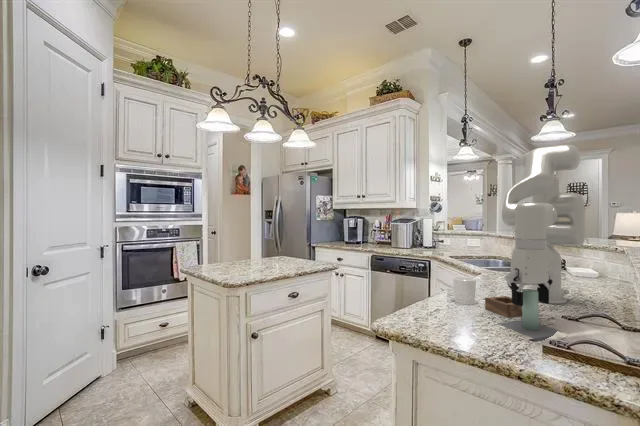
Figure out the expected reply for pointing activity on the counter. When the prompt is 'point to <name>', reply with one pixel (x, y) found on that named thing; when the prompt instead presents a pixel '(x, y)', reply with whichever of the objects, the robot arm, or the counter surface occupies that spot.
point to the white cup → (464, 290)
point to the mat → (538, 335)
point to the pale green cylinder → (530, 310)
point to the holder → (503, 306)
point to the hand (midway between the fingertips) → (530, 303)
